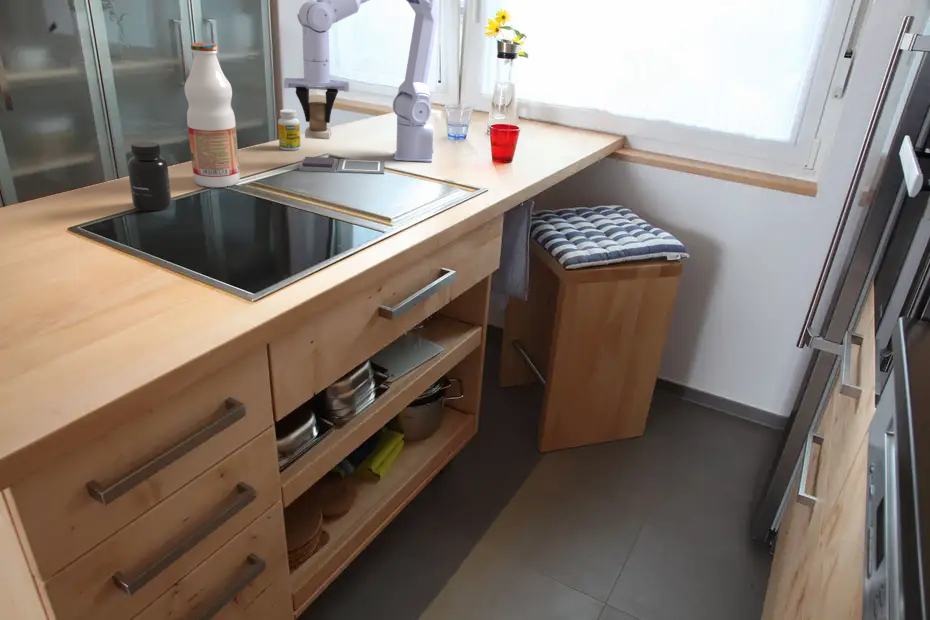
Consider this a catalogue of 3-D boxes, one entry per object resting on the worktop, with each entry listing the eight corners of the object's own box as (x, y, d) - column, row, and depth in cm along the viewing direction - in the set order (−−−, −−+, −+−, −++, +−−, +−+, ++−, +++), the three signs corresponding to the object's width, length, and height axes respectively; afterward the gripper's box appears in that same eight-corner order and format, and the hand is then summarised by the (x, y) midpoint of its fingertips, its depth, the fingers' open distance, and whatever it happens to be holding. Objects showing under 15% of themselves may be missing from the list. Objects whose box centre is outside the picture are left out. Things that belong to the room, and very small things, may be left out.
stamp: (331, 134, 164) (330, 102, 161) (329, 139, 159) (328, 106, 156) (307, 133, 163) (306, 100, 160) (305, 138, 158) (303, 105, 155)
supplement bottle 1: (135, 213, 127) (125, 149, 122) (132, 202, 132) (122, 140, 127) (174, 210, 130) (166, 147, 125) (170, 199, 135) (162, 138, 130)
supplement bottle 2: (293, 145, 180) (292, 107, 176) (304, 149, 177) (303, 111, 173) (275, 147, 177) (273, 109, 173) (286, 151, 174) (284, 113, 169)
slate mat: (384, 162, 171) (384, 160, 171) (383, 174, 161) (383, 172, 161) (340, 160, 170) (340, 158, 170) (336, 172, 160) (336, 170, 160)
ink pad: (336, 164, 166) (336, 157, 166) (334, 172, 160) (334, 164, 159) (303, 162, 166) (303, 155, 165) (299, 170, 159) (299, 163, 159)
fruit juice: (215, 191, 142) (200, 47, 129) (184, 182, 146) (167, 42, 133) (249, 181, 149) (239, 45, 136) (219, 173, 153) (207, 40, 141)
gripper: (350, 59, 158) (350, 119, 164) (286, 55, 156) (288, 116, 162) (348, 63, 152) (348, 125, 158) (281, 59, 150) (284, 122, 156)
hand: (318, 121), depth 160 cm, fingers closed on stamp, 4 cm apart
